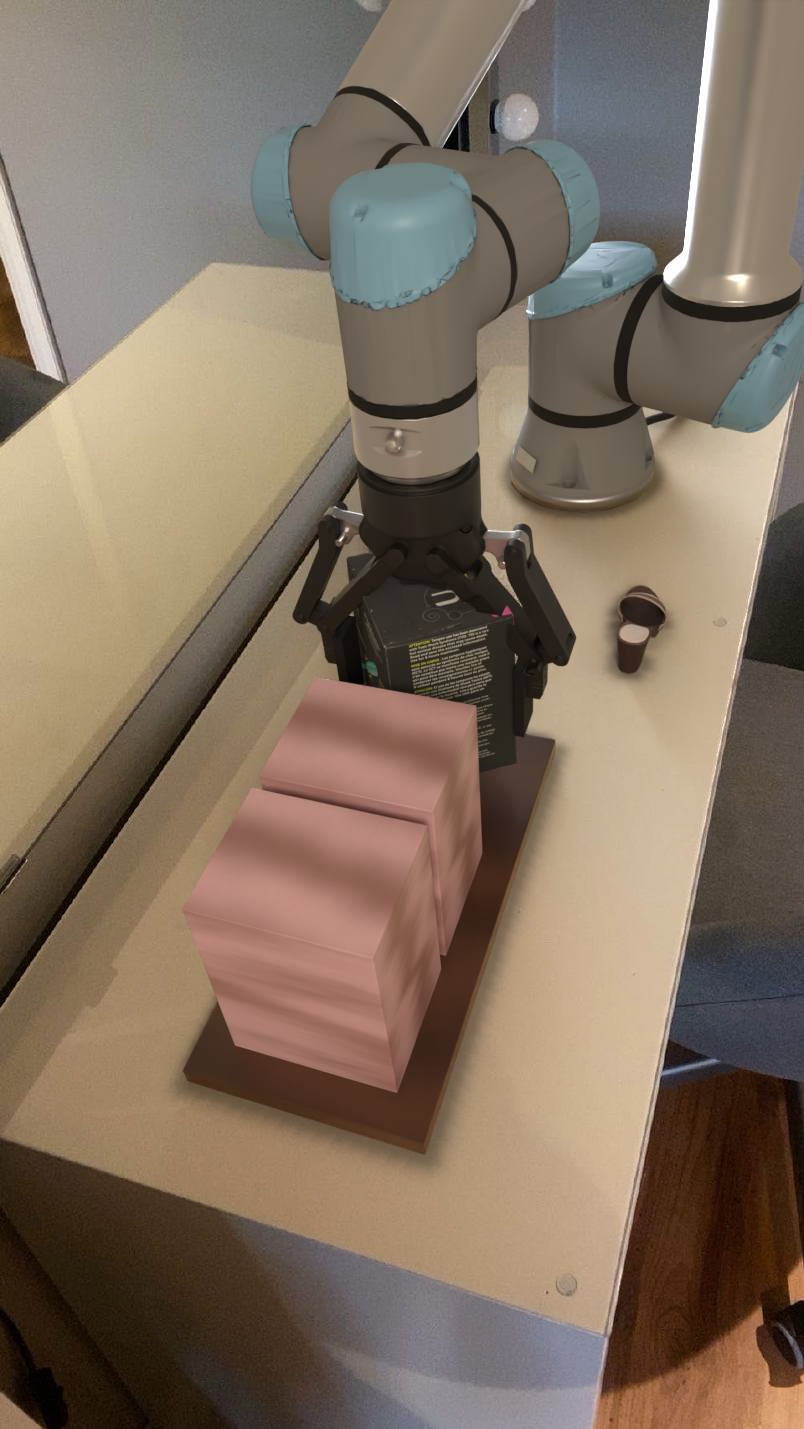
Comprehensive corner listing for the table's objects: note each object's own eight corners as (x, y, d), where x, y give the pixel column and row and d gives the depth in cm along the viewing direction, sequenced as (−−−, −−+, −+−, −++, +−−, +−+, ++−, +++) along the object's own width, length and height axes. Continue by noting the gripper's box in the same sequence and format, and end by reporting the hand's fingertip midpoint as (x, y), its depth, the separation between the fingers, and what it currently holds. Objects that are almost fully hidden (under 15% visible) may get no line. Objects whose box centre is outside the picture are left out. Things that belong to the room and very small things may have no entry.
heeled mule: (671, 603, 97) (676, 569, 94) (654, 682, 89) (658, 648, 87) (623, 596, 98) (626, 563, 95) (602, 674, 91) (604, 640, 88)
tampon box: (519, 766, 78) (520, 614, 68) (401, 798, 77) (383, 648, 67) (472, 673, 86) (466, 524, 76) (363, 701, 85) (342, 553, 74)
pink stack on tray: (370, 717, 89) (347, 559, 78) (555, 752, 85) (560, 590, 73) (187, 1081, 67) (117, 936, 55) (425, 1155, 62) (403, 1013, 51)
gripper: (207, 464, 64) (265, 713, 79) (610, 513, 57) (590, 775, 72) (258, 405, 69) (304, 649, 84) (634, 443, 62) (611, 702, 77)
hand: (436, 708), depth 78 cm, fingers closed on tampon box, 12 cm apart
